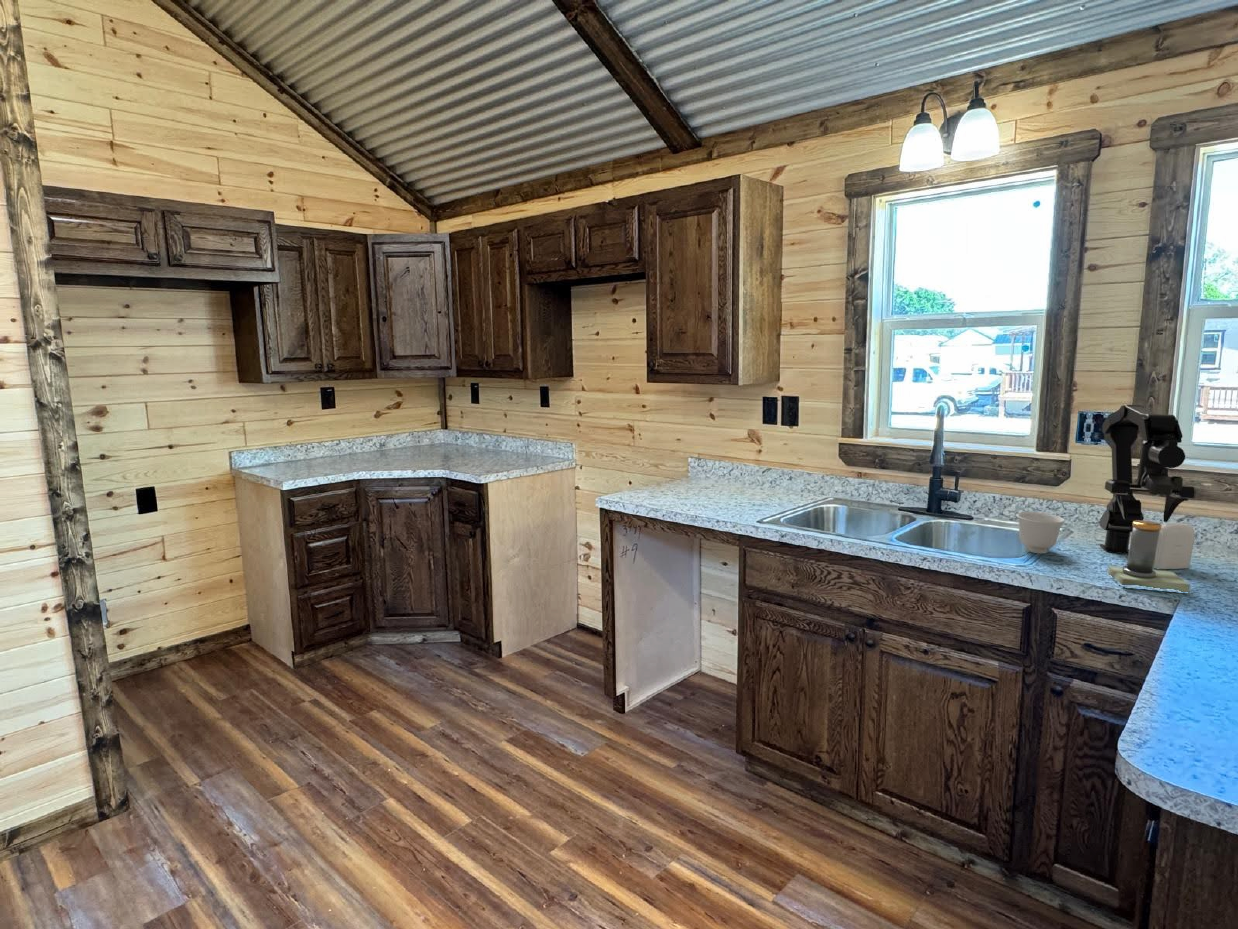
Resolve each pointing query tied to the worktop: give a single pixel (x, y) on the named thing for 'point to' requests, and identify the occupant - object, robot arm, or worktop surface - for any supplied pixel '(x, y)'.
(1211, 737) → the worktop surface
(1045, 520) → the teacup
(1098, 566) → the worktop surface
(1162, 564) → the photo printer
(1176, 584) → the stand
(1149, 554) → the cylinder
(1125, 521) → the robot arm
